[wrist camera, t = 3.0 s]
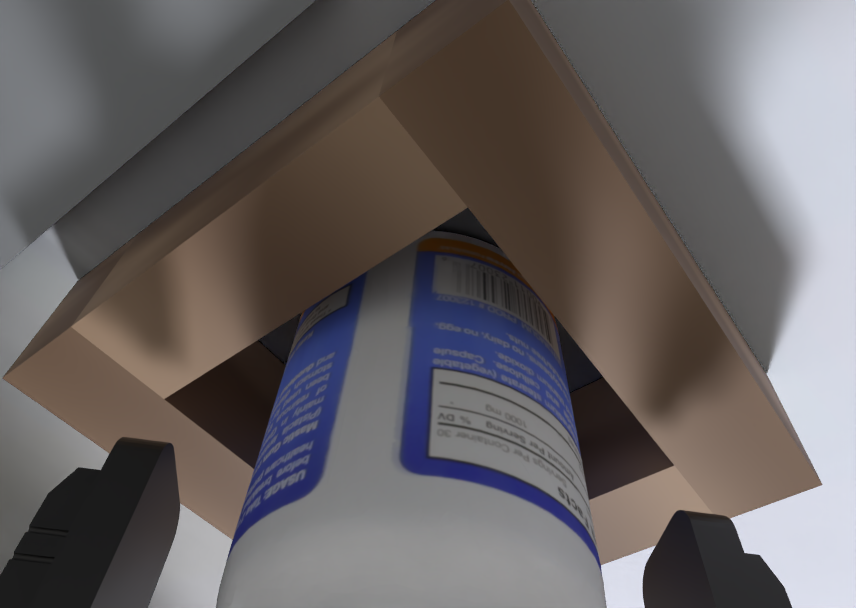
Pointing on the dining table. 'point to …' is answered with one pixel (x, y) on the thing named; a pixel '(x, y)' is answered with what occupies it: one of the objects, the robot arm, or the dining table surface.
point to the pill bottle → (420, 449)
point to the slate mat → (105, 90)
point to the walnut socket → (394, 230)
